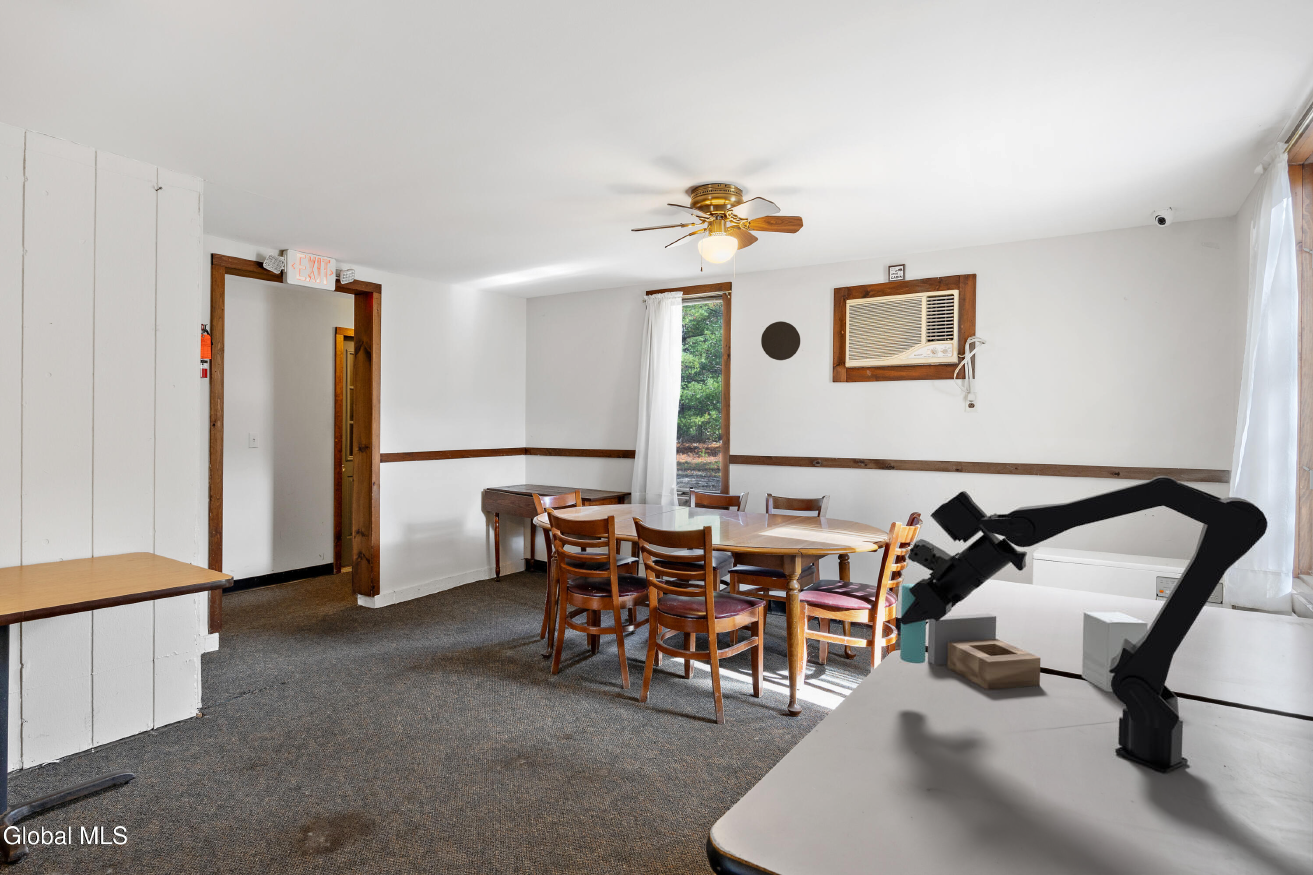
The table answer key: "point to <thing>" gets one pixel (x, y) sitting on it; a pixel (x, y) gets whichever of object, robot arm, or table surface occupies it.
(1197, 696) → the table surface
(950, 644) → the hole block
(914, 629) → the dowel
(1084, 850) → the table surface
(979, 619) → the backstop wall
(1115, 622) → the supplement box
